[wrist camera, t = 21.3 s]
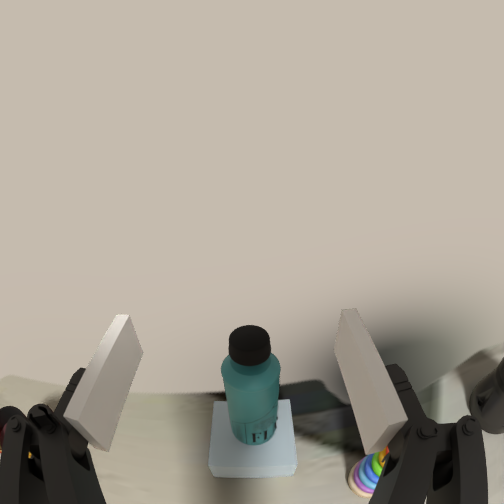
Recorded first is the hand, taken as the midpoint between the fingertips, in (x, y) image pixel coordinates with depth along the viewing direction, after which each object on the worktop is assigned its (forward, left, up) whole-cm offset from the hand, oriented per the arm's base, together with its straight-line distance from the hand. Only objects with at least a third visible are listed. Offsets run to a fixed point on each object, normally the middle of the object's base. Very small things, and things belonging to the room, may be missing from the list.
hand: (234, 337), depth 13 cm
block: (+8, -5, -34) cm, 35 cm away
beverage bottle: (+8, -5, -28) cm, 30 cm away
